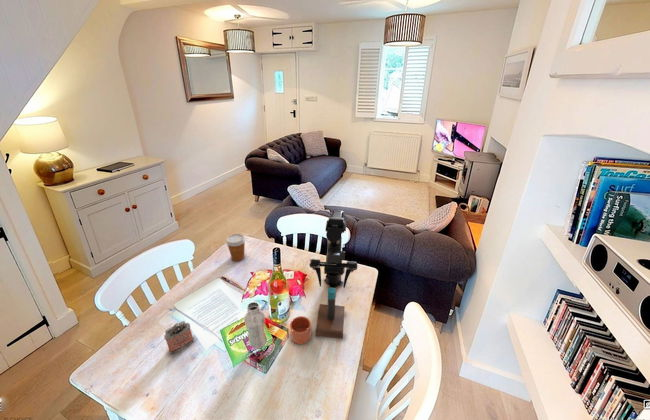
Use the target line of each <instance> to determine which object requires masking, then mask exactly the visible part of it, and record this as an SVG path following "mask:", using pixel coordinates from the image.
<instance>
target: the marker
mask: <svg viewBox="0 0 650 420" xmlns="http://www.w3.org/2000/svg"><path fill="white" fill-rule="evenodd" d="M326 297H327V305H328V306H327V318H328V319H330V320H332V319H334V317H335V305H336V297H337V289H336V287H334V288H332V287H328V289H327V296H326Z"/></svg>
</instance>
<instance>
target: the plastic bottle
mask: <svg viewBox="0 0 650 420" xmlns="http://www.w3.org/2000/svg"><path fill="white" fill-rule="evenodd" d="M246 307H247V308H246V309H247V310H246V311H247V312H246V313H245V315H244V319H243V322H244V325H245V327H246V331H247V334H248V342H249V343H250V345H251V346H252V347H253V348H256V349H262V348H263V347H264V346H265V344H266V342H267V339H268V336H267V334H266V329H265V328H266V327H265V323H266V321H265V320H266V316H265V313H264V312H263V310H261V308H260V304H259V303H258V302H256V301H252V302H249V303H248V304H247V306H246Z"/></svg>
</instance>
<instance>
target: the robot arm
mask: <svg viewBox="0 0 650 420" xmlns="http://www.w3.org/2000/svg"><path fill="white" fill-rule="evenodd" d="M324 230H325V232H326V233H325V236H326V240H327V243H326V244H327V245H326V246H327V247H326V256H325V261H321V259H315V258H312V259H310V260H309V268H310V269H312V270H313V271H315V273H316V276H317V280H318V285H319V287H322V271H321V269H322V268H321V267H323V271H324V273H323V274H324V275H325V279H324V282H325V284H327V286H328V287H329V288H331V287H332V288H336V287H338V286H341V285H342V284H343V289H345V288H346V285H347V283H348V279H349V277H350V274H351V273H354V272H355V271H357V270H358V262H357V261H352V260H351V261H349V260H347V261H346V262H343V261H345V260H346V251H342V239H343V238H342V234H343V233H345V232H346V231H347V216H346V215H345V213H344V211H343V210H333V211H332V214H330V215H329V217H328V219H327V220H326V223H325V229H324ZM342 276H344V279H343V280H342Z"/></svg>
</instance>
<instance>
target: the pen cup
mask: <svg viewBox="0 0 650 420" xmlns="http://www.w3.org/2000/svg"><path fill="white" fill-rule="evenodd" d="M289 330H290V339H291V341H292V343H294V344H298V345H303V344H306V343H308V342H309V340H310V339H311V336H312V322H311V320H310V318H308V317H306V316H301V315H300V316H296V317H294V318H293V319H292V320H291V321H290V324H289Z"/></svg>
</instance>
